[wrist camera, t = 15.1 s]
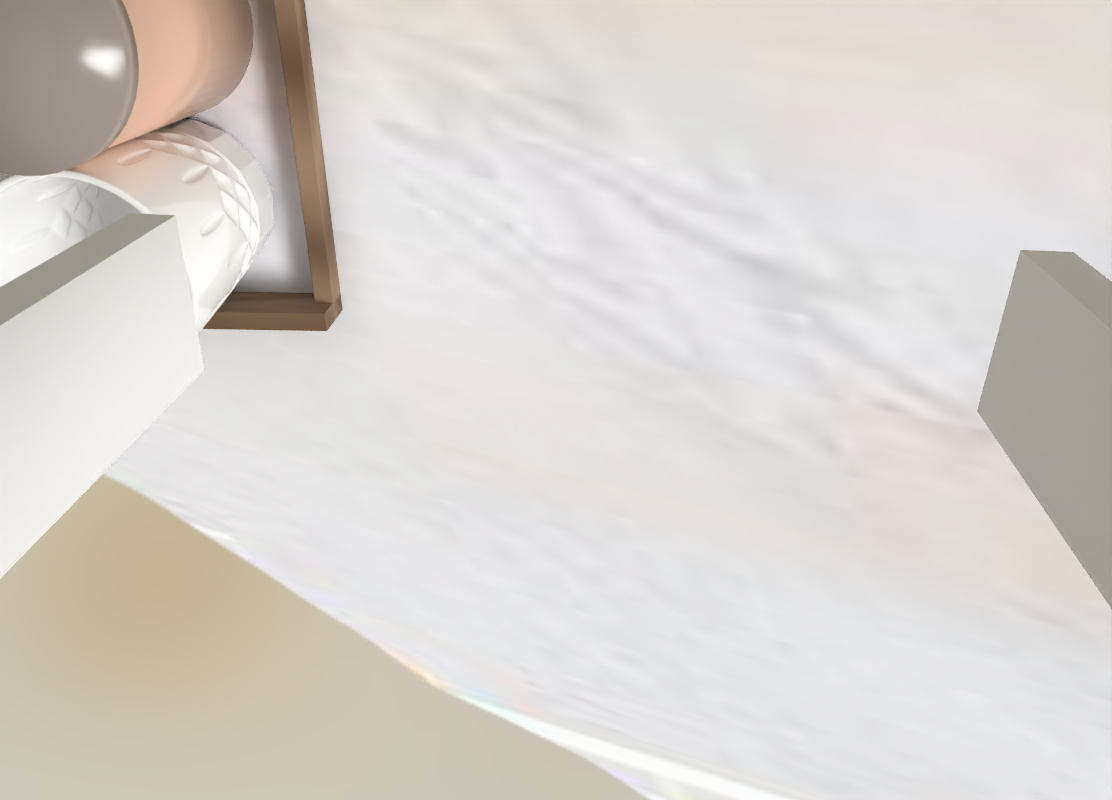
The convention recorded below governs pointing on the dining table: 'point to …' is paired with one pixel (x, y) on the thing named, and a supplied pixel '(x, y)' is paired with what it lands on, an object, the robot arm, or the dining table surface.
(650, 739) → the dining table surface
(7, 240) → the white cup
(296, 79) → the brown wooden rack
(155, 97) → the terracotta jar
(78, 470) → the robot arm
